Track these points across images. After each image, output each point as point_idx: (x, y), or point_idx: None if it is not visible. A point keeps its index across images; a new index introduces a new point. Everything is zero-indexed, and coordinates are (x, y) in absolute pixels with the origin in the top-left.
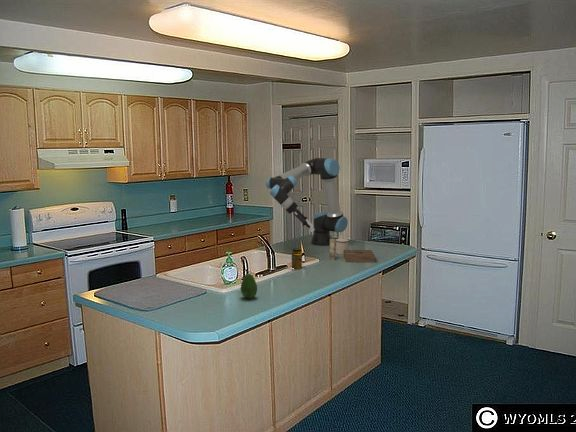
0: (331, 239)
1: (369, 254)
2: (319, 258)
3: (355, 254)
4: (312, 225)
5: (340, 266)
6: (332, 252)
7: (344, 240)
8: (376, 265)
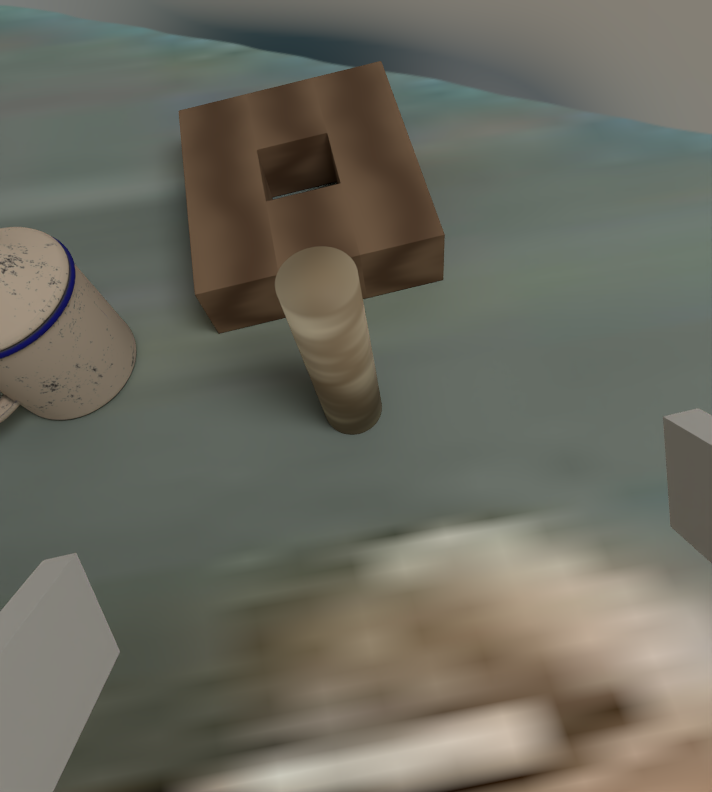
0: (332, 291)
1: (358, 93)
2: (351, 541)
3: (388, 175)
4: (65, 594)
5: (624, 295)
6: (374, 365)
7: (46, 254)
8: (476, 92)
